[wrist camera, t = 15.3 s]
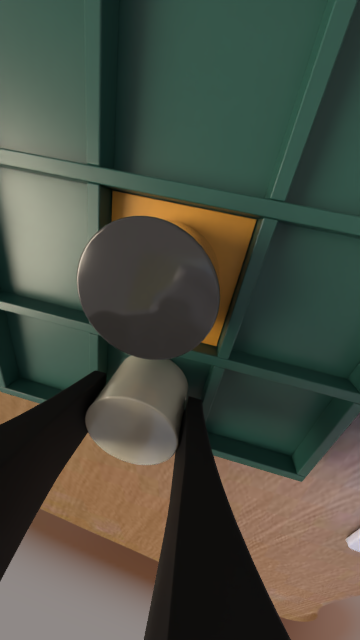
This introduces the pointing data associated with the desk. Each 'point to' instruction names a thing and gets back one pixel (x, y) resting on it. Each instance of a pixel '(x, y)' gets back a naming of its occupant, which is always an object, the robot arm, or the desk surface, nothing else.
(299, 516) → the desk surface
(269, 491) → the desk surface
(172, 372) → the cream stone
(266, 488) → the desk surface
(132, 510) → the desk surface
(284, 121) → the board
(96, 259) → the dark grey cylinder
